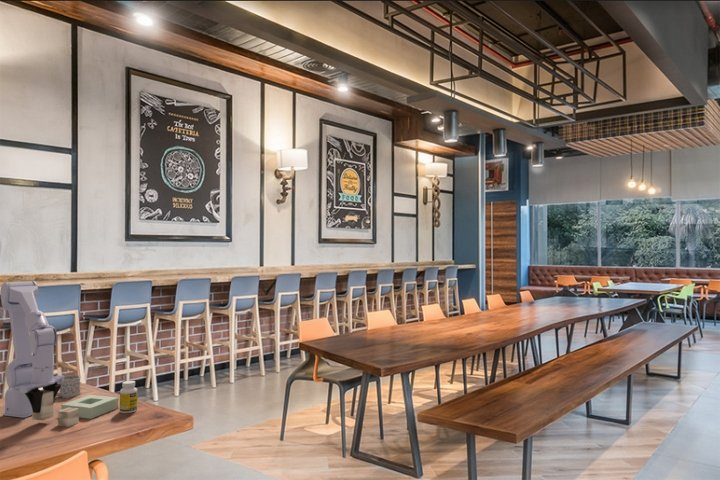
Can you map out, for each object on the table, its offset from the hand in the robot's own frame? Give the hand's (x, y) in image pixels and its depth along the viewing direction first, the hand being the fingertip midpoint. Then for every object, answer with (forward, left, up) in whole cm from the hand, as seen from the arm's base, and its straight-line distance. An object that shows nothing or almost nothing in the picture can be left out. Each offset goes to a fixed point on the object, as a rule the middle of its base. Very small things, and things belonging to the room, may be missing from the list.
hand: (42, 410), depth 167 cm
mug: (-18, +26, -4) cm, 32 cm away
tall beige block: (0, 0, -2) cm, 2 cm away
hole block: (+5, +14, -4) cm, 15 cm away
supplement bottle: (+17, +18, -4) cm, 25 cm away
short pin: (+8, +2, -4) cm, 9 cm away
